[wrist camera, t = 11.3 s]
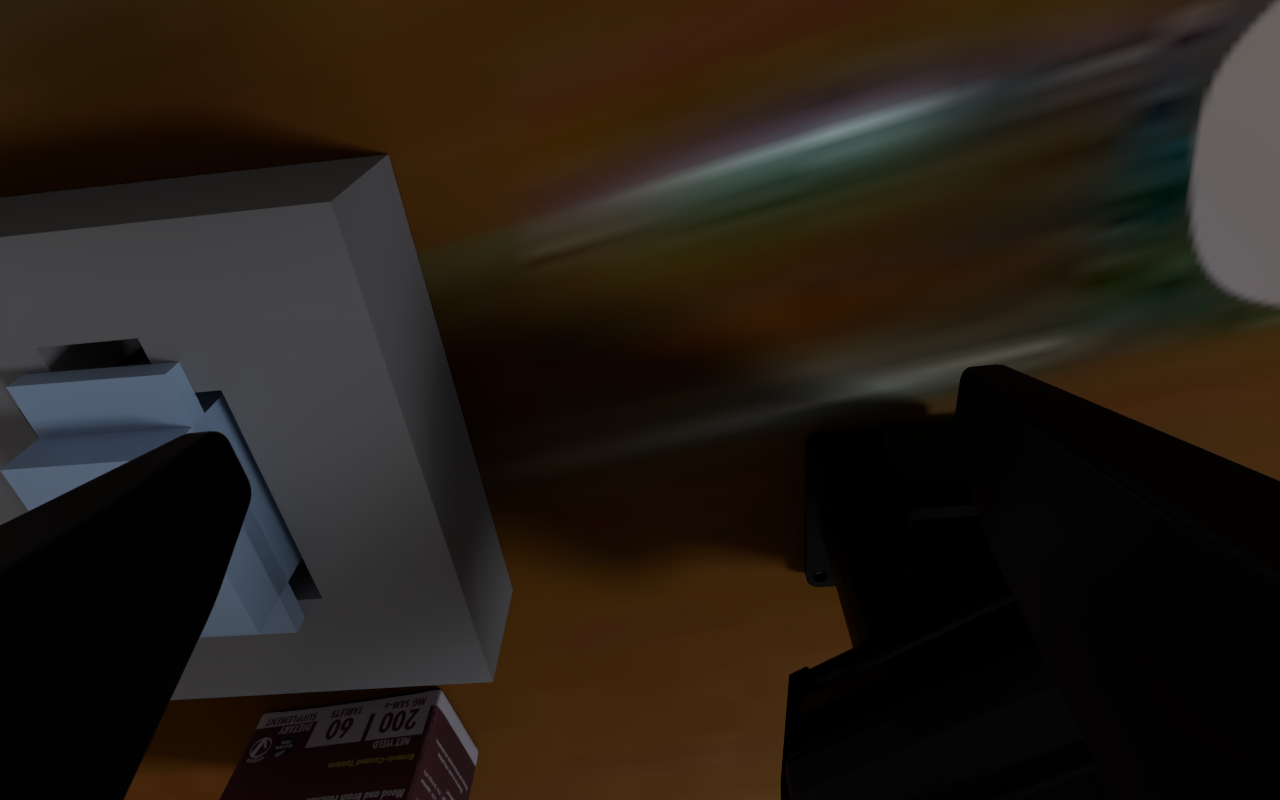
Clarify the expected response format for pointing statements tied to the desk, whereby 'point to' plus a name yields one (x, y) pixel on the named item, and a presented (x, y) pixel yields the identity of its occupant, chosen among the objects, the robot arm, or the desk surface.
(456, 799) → the supplement box
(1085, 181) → the desk surface
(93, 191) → the chassis
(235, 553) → the block
